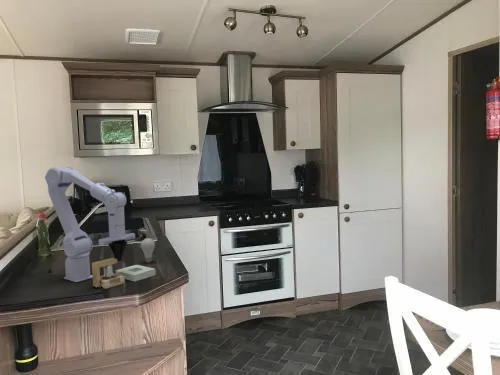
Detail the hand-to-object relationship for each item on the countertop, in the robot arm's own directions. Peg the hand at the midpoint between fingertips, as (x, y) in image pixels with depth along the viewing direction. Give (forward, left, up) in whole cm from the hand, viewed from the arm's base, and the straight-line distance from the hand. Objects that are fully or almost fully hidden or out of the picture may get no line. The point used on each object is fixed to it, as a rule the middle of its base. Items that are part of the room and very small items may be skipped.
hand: (118, 260), depth 149 cm
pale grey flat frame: (0, +7, -8) cm, 11 cm away
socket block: (0, -5, -8) cm, 9 cm away
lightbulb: (-12, +23, -8) cm, 27 cm away
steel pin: (0, -5, -8) cm, 9 cm away
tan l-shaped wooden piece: (0, -6, -7) cm, 9 cm away
